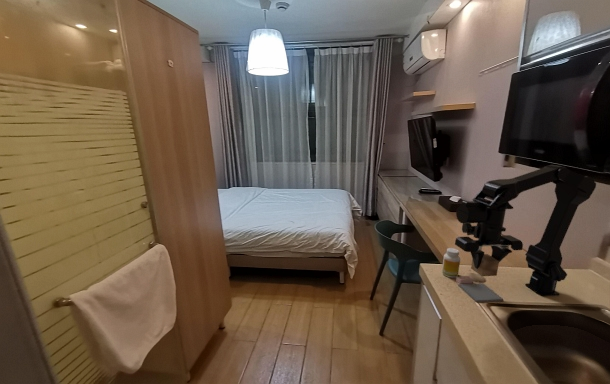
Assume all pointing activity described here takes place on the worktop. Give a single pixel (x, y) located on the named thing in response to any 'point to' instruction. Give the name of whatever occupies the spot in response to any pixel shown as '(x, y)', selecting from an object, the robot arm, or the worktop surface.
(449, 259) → the supplement bottle
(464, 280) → the pink eraser
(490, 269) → the walnut block
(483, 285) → the slate trivet
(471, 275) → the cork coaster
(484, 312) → the worktop surface
